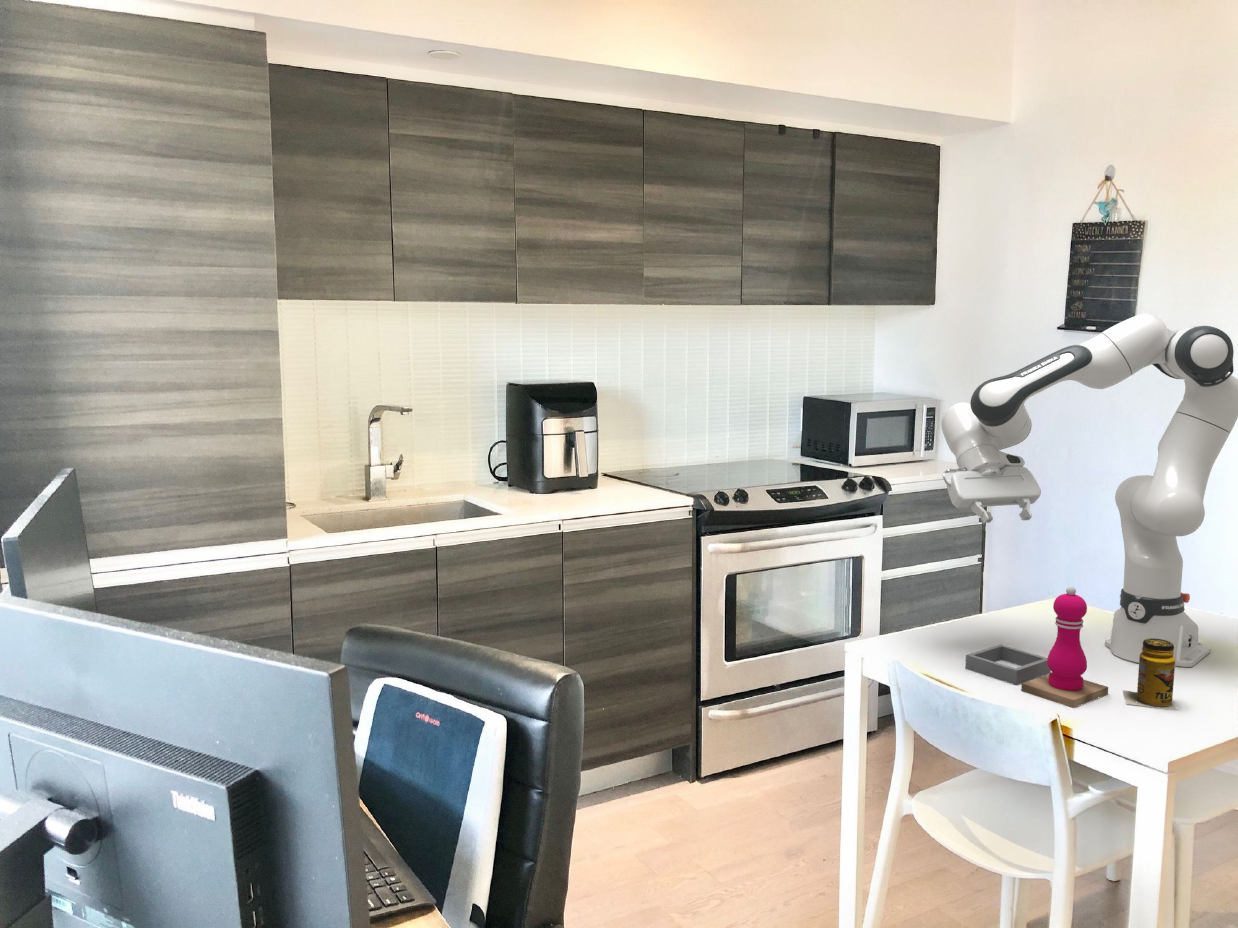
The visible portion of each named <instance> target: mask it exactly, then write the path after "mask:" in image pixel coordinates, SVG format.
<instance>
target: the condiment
mask: <svg viewBox="0 0 1238 928" xmlns="http://www.w3.org/2000/svg"><path fill="white" fill-rule="evenodd" d="M1173 651H1174V645H1173V643H1171V642H1169V641H1166V640H1163V639H1156V638H1149V639H1145V640H1144V641H1143V647H1142V653H1141V654H1140V657H1139V663H1138V675H1137V687H1136V688H1137V690H1136V691H1130V690H1122V693H1123V697H1124V700H1125V703H1126V705H1133V706H1140V707H1146V708H1147V707H1148V708H1153V709H1162V710H1171V711H1177V708H1176V705H1175V703H1174V700H1173V695H1174V694H1173V693H1174V685H1175V683H1174V680H1175V667H1176V666H1175V658H1174V657H1173V654H1174V652H1173Z"/></svg>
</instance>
